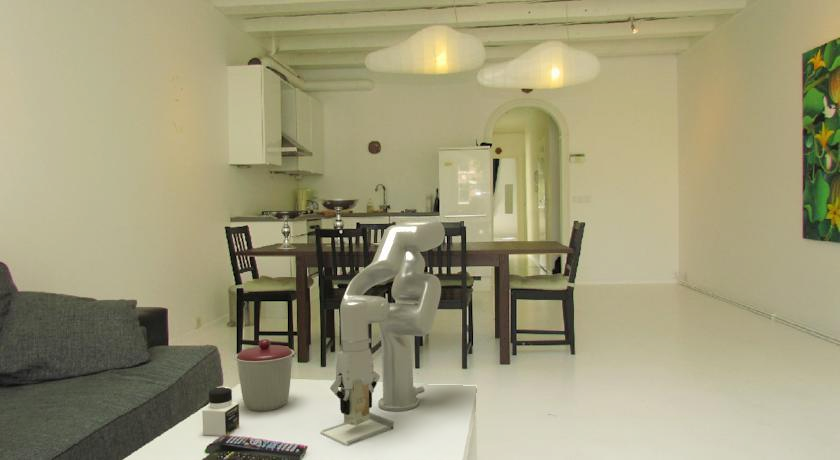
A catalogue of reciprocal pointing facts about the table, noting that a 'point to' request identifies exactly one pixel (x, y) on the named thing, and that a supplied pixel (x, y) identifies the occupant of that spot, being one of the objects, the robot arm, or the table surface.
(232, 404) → the medicine bottle
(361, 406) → the skincare box
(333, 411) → the table surface
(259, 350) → the canister
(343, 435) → the mat
